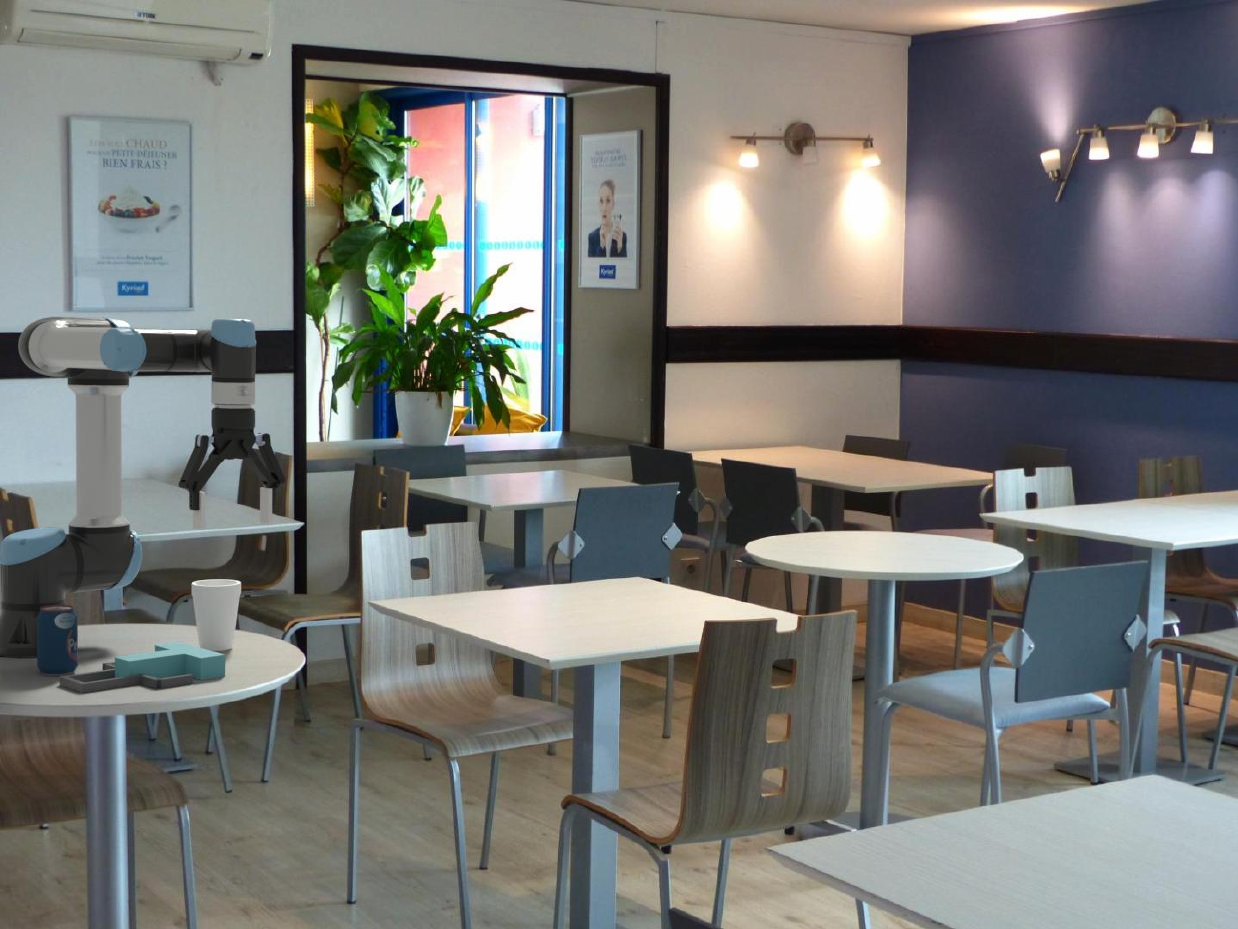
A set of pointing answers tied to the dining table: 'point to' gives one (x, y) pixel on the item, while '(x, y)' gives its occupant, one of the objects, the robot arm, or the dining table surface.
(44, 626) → the soda can
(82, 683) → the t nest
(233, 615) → the foam cup
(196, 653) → the t block
